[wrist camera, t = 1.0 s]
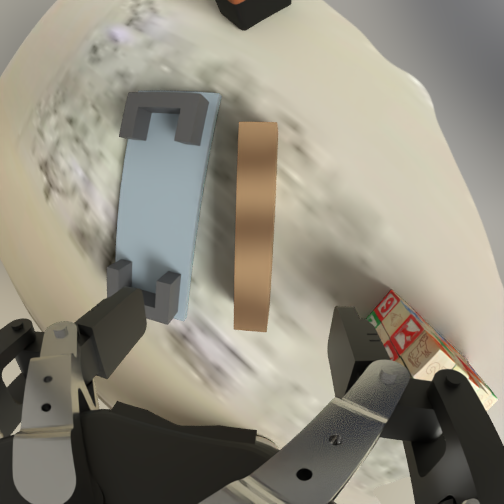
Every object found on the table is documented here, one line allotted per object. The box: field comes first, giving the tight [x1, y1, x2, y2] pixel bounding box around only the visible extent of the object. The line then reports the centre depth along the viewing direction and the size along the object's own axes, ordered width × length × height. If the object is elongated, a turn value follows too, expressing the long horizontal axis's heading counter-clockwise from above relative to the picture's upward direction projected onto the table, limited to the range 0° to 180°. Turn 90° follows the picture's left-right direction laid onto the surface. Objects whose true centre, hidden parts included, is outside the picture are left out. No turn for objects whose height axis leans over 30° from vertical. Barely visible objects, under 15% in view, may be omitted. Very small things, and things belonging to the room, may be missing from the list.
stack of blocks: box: [366, 290, 498, 411], centre depth 23 cm, size 21×6×12 cm, turn 54°
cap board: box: [107, 91, 221, 325], centre depth 26 cm, size 24×9×4 cm, turn 169°
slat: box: [234, 122, 278, 332], centre depth 25 cm, size 18×3×5 cm, turn 178°
